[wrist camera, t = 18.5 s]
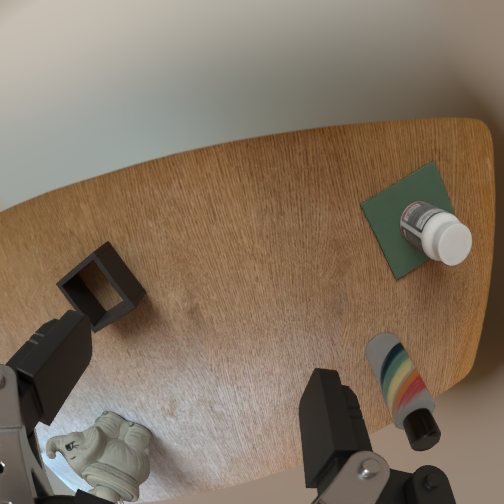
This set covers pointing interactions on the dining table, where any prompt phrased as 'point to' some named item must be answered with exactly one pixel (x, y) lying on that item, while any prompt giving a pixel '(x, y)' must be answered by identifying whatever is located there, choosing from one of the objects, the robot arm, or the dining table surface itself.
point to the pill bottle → (436, 233)
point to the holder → (116, 276)
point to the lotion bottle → (403, 391)
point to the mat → (392, 207)
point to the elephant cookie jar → (107, 456)
